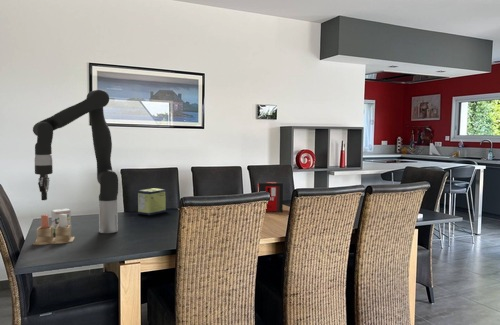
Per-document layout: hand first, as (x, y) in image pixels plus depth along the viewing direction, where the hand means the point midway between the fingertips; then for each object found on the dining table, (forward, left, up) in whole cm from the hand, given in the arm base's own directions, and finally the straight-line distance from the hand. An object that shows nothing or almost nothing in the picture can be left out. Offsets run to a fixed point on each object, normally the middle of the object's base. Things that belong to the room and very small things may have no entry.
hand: (44, 200), depth 188 cm
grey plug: (-8, 0, -16) cm, 18 cm away
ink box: (-4, -20, -21) cm, 29 cm away
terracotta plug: (0, 0, -16) cm, 16 cm away
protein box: (-53, -60, -21) cm, 83 cm away
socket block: (-4, 0, -21) cm, 21 cm away
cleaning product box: (-132, -47, -21) cm, 142 cm away
